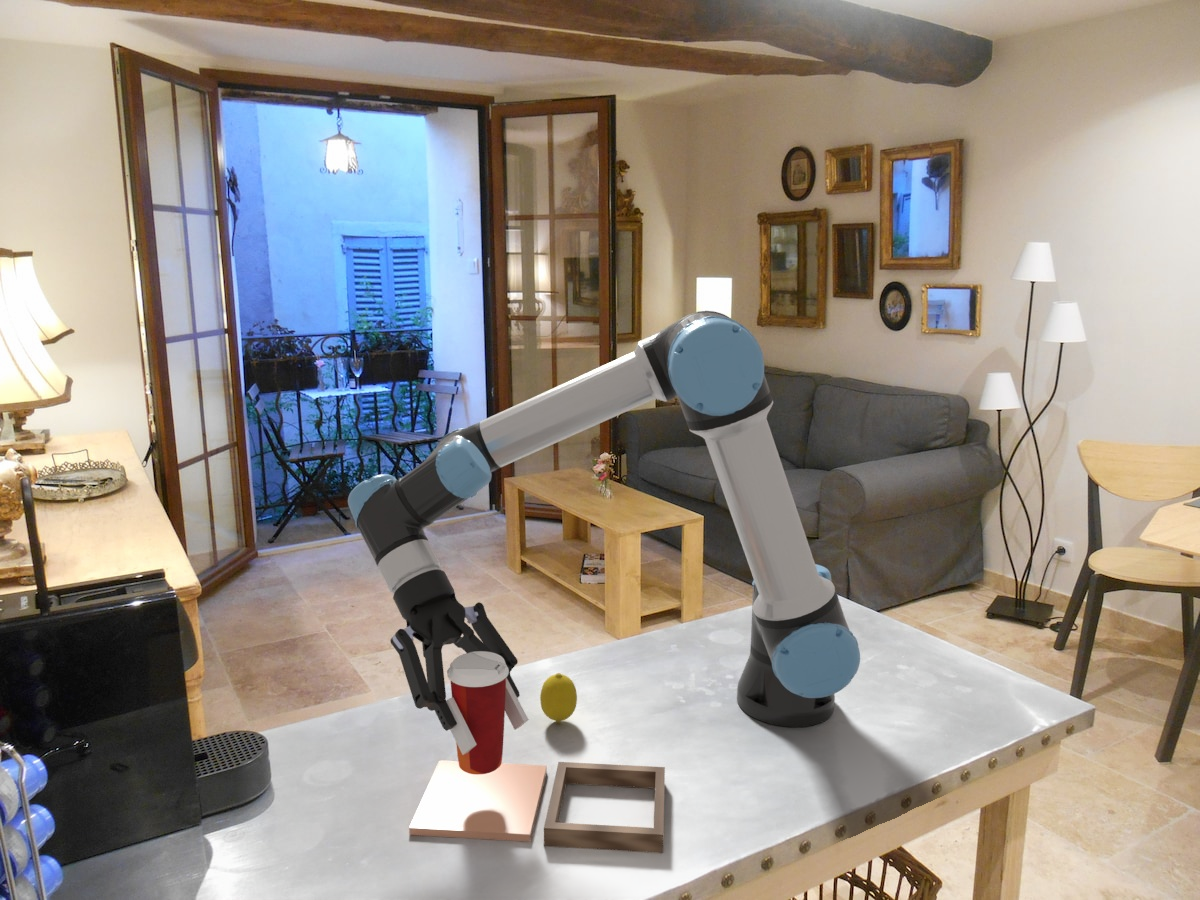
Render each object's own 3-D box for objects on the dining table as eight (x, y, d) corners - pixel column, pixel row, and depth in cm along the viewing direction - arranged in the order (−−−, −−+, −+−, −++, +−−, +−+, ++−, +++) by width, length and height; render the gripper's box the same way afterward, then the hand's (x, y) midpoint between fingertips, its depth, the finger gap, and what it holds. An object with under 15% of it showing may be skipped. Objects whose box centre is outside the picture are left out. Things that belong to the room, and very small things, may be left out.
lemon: (572, 733, 137) (572, 684, 135) (536, 729, 138) (535, 680, 136) (580, 714, 142) (580, 667, 141) (545, 711, 144) (545, 663, 142)
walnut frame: (664, 783, 125) (664, 767, 124) (663, 853, 111) (663, 834, 110) (558, 778, 126) (558, 761, 125) (543, 846, 112) (543, 828, 111)
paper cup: (519, 752, 122) (518, 654, 118) (494, 784, 114) (492, 681, 111) (466, 741, 124) (463, 645, 121) (438, 772, 117) (434, 670, 114)
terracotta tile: (546, 772, 127) (546, 765, 127) (530, 841, 113) (529, 834, 112) (439, 766, 128) (439, 760, 128) (409, 834, 114) (409, 827, 114)
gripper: (467, 576, 133) (543, 719, 125) (338, 616, 118) (416, 780, 111) (490, 549, 128) (570, 697, 120) (359, 588, 113) (441, 758, 106)
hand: (496, 736), depth 116 cm, fingers closed on paper cup, 8 cm apart
